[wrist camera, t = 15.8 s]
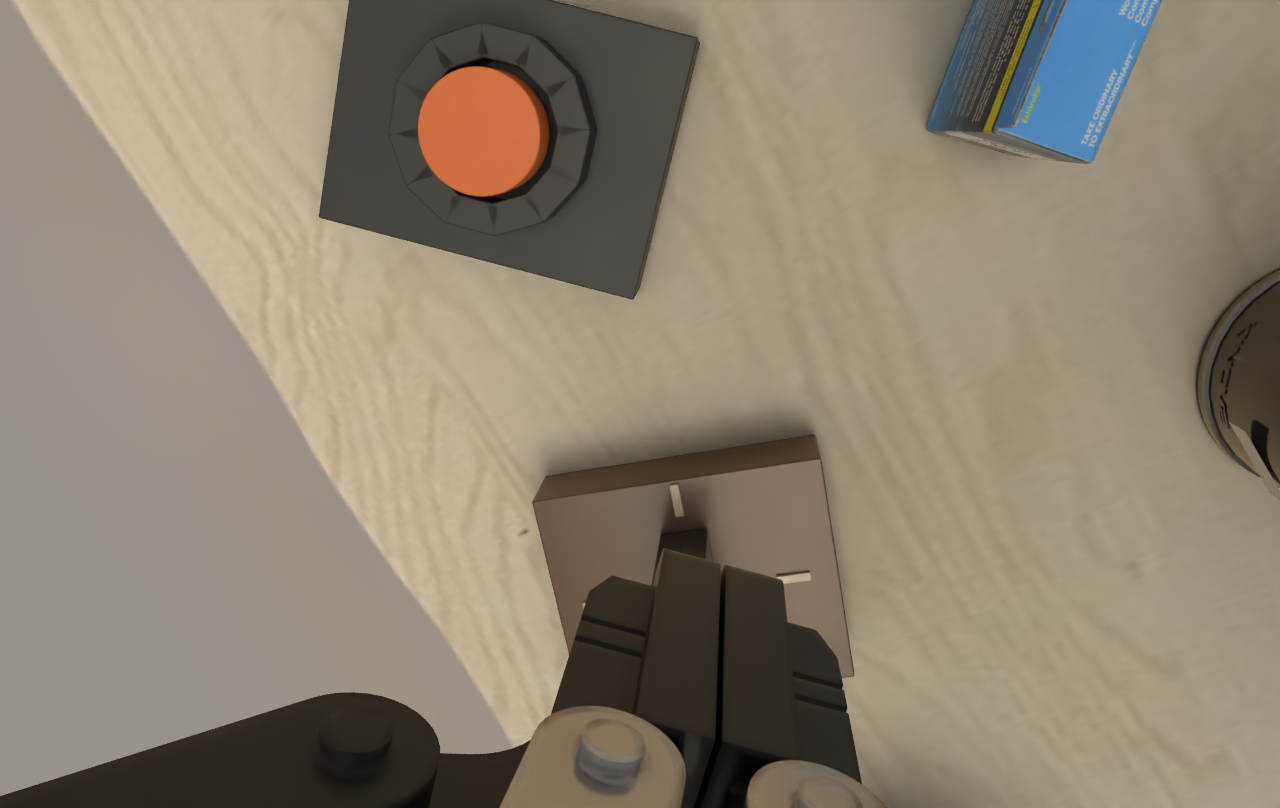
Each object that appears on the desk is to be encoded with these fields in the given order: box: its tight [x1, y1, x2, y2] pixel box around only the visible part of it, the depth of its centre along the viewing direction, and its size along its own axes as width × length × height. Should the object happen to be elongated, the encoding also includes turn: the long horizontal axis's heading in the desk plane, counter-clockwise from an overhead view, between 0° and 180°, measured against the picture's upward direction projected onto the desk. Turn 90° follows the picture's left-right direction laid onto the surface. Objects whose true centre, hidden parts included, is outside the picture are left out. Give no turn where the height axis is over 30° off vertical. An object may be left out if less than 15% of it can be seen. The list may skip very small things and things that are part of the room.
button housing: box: [319, 0, 700, 299], centre depth 37 cm, size 13×10×4 cm
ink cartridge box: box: [927, 0, 1162, 164], centre depth 30 cm, size 9×4×12 cm, turn 163°
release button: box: [418, 66, 549, 197], centre depth 34 cm, size 4×4×2 cm
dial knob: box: [651, 529, 714, 586], centre depth 38 cm, size 6×2×6 cm, turn 11°
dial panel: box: [532, 435, 854, 678], centre depth 42 cm, size 12×10×3 cm
